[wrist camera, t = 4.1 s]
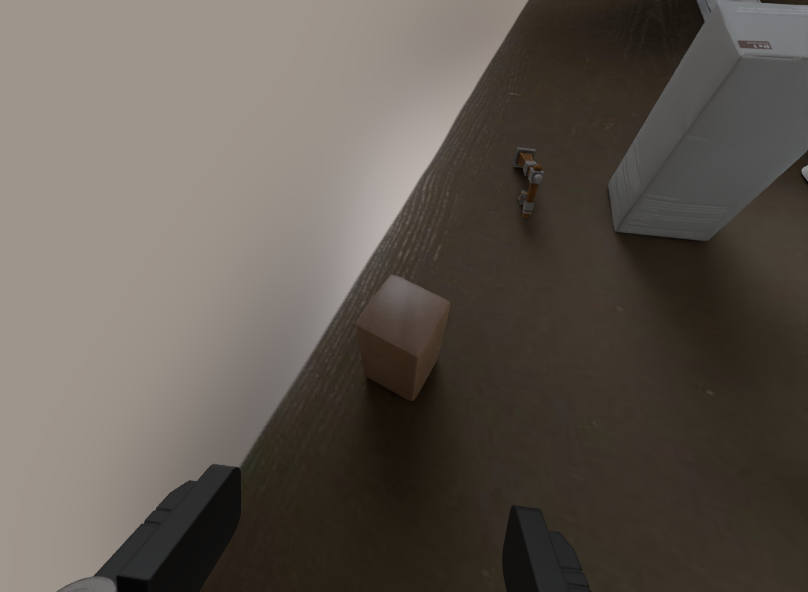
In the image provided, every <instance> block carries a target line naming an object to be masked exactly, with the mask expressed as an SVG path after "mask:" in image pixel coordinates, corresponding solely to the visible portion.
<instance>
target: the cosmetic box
mask: <svg viewBox="0 0 808 592" xmlns="http://www.w3.org/2000/svg"><path fill="white" fill-rule="evenodd" d="M807 150H808V5H783V4H767V3H749V2H733V1H721V0H719V1H717V2H716V5H715V6H714V8H713V10H712V11H711V13H710V15H709V16H708V18H707V19H706V21H705V23H704V24H703V26H702V28H701V29H700V31H699V33H698V34H697V36H696V38H695V39H694V41H693V43H692V44H691V46H690V48H689V49H688V51H687V53H686V54H685V56H684V58H683V59H682V61H681V63H680V64H679V66H678V68H677V69H676V71H675V73H674V74H673V76H672V78H671V79H670V81H669V83H668V84H667V86H666V88H665V89H664V91H663V93H662V94H661V96H660V98H659V99H658V101H657V103H656V104H655V106H654V108H653V109H652V111H651V113H650V114H649V116H648V118H647V119H646V121H645V123H644V124H643V126H642V128H641V129H640V131H639V133H638V134H637V136H636V138H635V139H634V141H633V143H632V145H631V146H630V148H629V150H628V151H627V153H626V155H625V156H624V158H623V160H622V161H621V163H620V165H619V166H618V168H617V170H616V171H615V173H614V175H613V176H612V178H611V180H610V181H609V183H608V189H609V196H610V202H611V209H612V217H613V223H614V229H615V231H616V232H623V233H632V234H642V235H652V236H662V237H671V238H681V239H691V240H700V241H708V240H710V239H711V238H712V237H713V236H714V235H715V234H716V233H717V232H718V231H720V230H721V229H722V228H723V227H724V226H725V225H726V224H727V223H728V222H730V221H731V220H732V219H733V218H734V217H735V216H736V215H737V214H738V213H739V212H740V211H741V210H743V209H744V208H745V207H746V206H747V205H748V204H749V203H750V202H751V201H752V200H754V199H755V198H756V197H757V196H758V195H759V194H760V193H761V192H762V191H763V190H765V189H766V188H767V187H768V186H769V185H770V184H771V183H772V182H773V181H774V180H775V179H777V178H778V177H779V176H780V175H781V174H782V173H783V172H784V171H785V170H786V169H787V168H789V167H790V166H791V165H792V164H793V163H794V162H795V161H796V160H797V159H799V158H800V157H801V156H802V155H803V154H804V153H805V152H806V151H807Z"/></svg>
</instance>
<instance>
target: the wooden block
mask: <svg viewBox="0 0 808 592" xmlns="http://www.w3.org/2000/svg"><path fill="white" fill-rule="evenodd" d="M449 310H450V303H449V302H448V301H447V300H446V299H444V298H442V297H440V296H438V295H436V294H434V293H432V292H430V291H427V290H425V289H423V288H421V287H419V286H417V285H415V284H413V283H411V282H409V281H407V280H405V279H402V278H400V277H398V276H396V275H391V276H389V277H388V278H387V280H386V281H385V282H384V284H383V285H382V287H381V288H380V289H379V291H378V292H377V293H376V295H375V296H374V298H373V299H372V300H371V302H370V303H369V305H368V306H367V307H366V309H365V310H364V312H363V313H362V314H361V316H360V317H359V318H358V320H357V321H356V326H355V327H356V332H357V337H358V342H359V347H360V352H361V358H362V363H363V368H364V373H365V375H366V376H367V378H369V379H371V380H373V381H374V382H376V383H378V384H380V385H382V386H383V387H385V388H387V389H389V390H390V391H392V392H394V393H396V394H397V395H399V396H401V397H403V398H404V399H406V400H408V401H413V400H414V399H416V397H417V396H418V394H419V392H420V390H421V388H422V387H423V385H424V383H425V381H426V379H427V378H428V376H429V374H430V372H431V370H432V369H433V367H434V365H435V363H436V361H437V360H438V356H439V352H440V348H441V343H442V339H443V335H444V331H445V327H446V323H447V319H448V314H449Z"/></svg>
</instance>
